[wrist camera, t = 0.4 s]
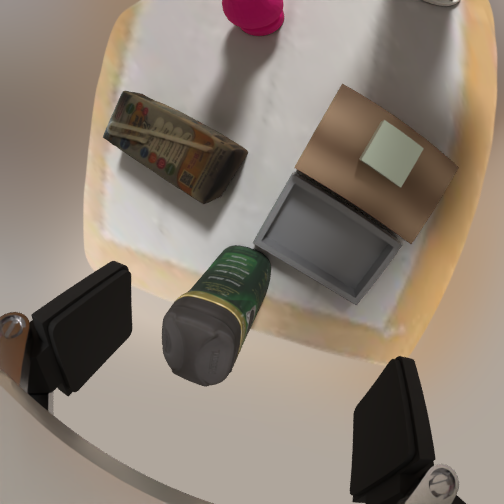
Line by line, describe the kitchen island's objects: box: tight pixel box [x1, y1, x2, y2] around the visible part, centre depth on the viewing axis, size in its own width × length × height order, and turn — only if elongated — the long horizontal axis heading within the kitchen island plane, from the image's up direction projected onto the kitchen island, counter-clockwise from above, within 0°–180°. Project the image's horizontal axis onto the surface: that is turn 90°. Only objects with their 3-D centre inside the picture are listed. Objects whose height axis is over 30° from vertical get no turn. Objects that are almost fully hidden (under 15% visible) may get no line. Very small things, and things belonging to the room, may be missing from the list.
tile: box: [359, 120, 424, 187], centre depth 25 cm, size 5×5×2 cm
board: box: [294, 84, 459, 244], centre depth 29 cm, size 11×16×5 cm
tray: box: [253, 172, 402, 305], centre depth 35 cm, size 10×16×3 cm, turn 63°
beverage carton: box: [103, 91, 248, 204], centre depth 34 cm, size 8×19×7 cm, turn 59°
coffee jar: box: [162, 245, 271, 386], centre depth 33 cm, size 10×8×19 cm
